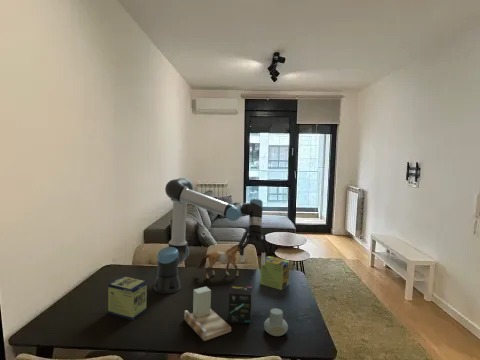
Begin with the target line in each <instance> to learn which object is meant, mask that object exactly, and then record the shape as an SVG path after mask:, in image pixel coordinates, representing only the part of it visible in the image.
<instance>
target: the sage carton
mask: <svg viewBox="0 0 480 360" xmlns="http://www.w3.org/2000/svg"><path fill="white" fill-rule="evenodd" d="M192 295H193V296H192V297H193V300H192V306H193V307H192V310H193V311H192V313H193V314H194V315H195V316H196V317H197V318H199V317H202V316H205V315H208V314H210V311H211V310H212V308H211V305H212V304H211V302H212V299H211V298H212V290H211V289H210V288H209V287H208V286H203V287H198V288H194V289H193V294H192Z"/></svg>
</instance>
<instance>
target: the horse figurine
mask: <svg viewBox="0 0 480 360" xmlns="http://www.w3.org/2000/svg"><path fill="white" fill-rule="evenodd" d="M237 246H238V244H236V245H233V246H231V248H229V249H227V250H225V251H219V250H213V251H212V252H210V253H207V254H205V255H204V256H202V258H201V260H200V263H199V265H197V267H196V269H198V270H202V269H203V268H204V267H205V266H206V264H207V259H208V263H209V265H208V267H207V268H206V274H205V276H206V279H210V276H209V272H210V270H211V271H212V275H213V276H215V275H216V272H215V270H214V268H213V267H214V265H215V264H216V262H217V263H218V262H220V263H226V270H225V273H226V276H230V273H229V272H228V269H229V265H230V264H232V266H233V267H234V268H235V270H236V274H235V275H236V276H237V277H239V270H238V269H239V268H238V266H237V264H236V261H237V259H236V258H237V257H236V255H237V253H239V254H240V249H239V248H238V247H237Z"/></svg>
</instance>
